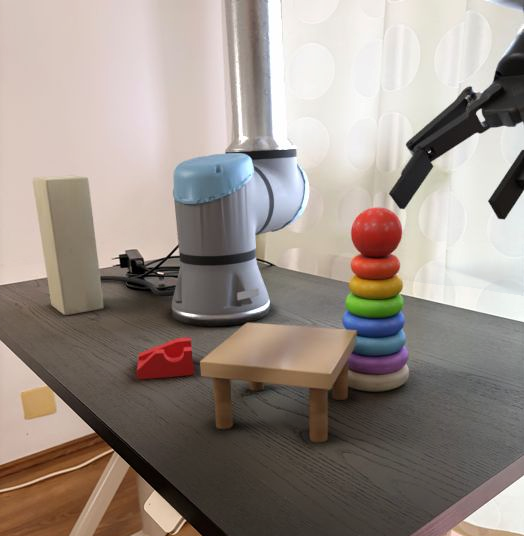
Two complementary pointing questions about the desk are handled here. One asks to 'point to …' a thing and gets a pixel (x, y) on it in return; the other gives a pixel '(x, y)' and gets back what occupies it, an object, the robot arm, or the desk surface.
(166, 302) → the desk surface
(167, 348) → the red notched block
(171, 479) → the desk surface
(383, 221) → the stacking toy
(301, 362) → the stool
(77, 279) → the white rectangular block
